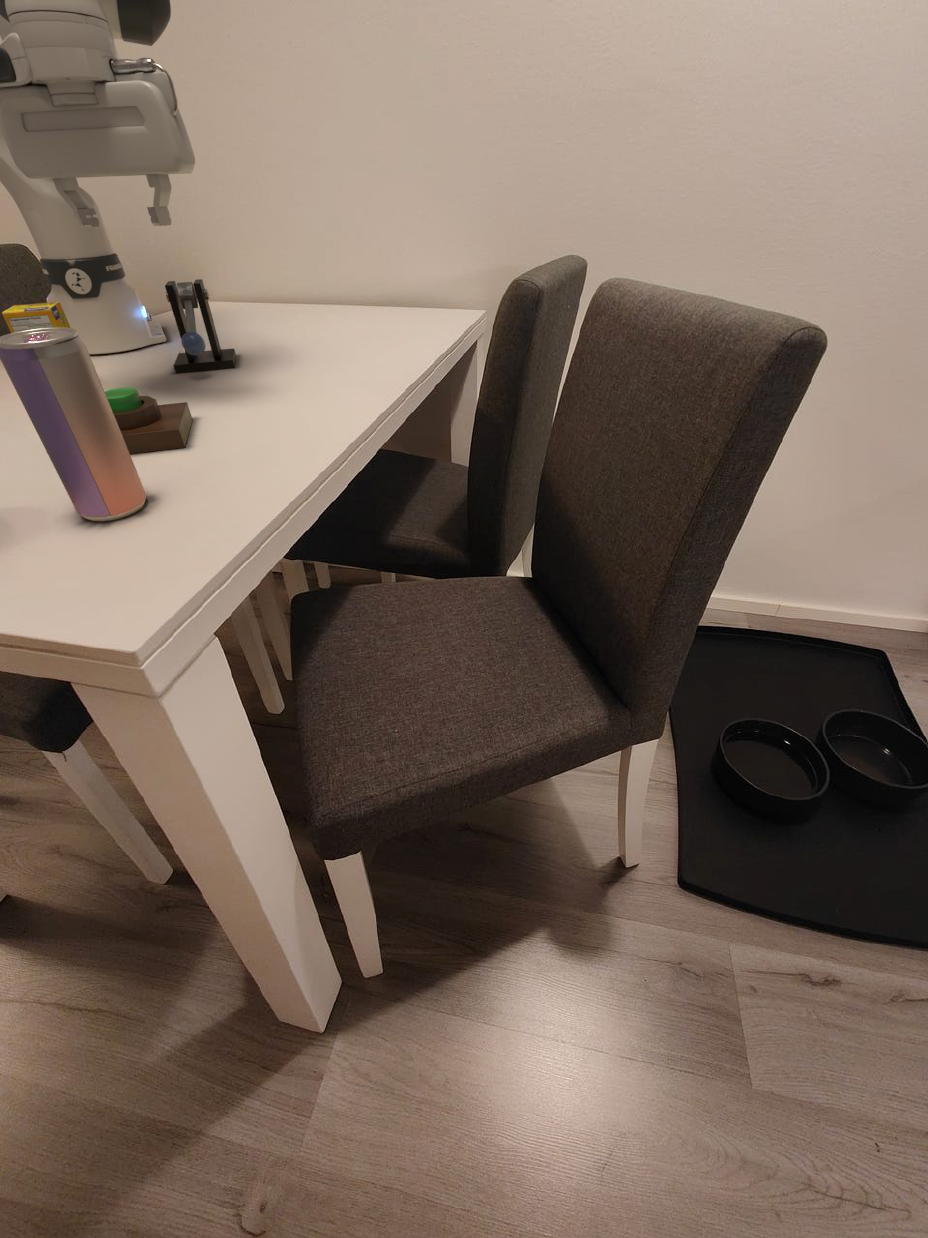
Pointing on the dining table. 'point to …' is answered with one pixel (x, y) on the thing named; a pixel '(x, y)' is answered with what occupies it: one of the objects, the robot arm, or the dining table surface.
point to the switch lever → (190, 319)
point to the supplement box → (35, 316)
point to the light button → (123, 399)
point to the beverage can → (73, 420)
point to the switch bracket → (216, 355)
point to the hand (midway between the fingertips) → (126, 226)
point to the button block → (154, 426)
